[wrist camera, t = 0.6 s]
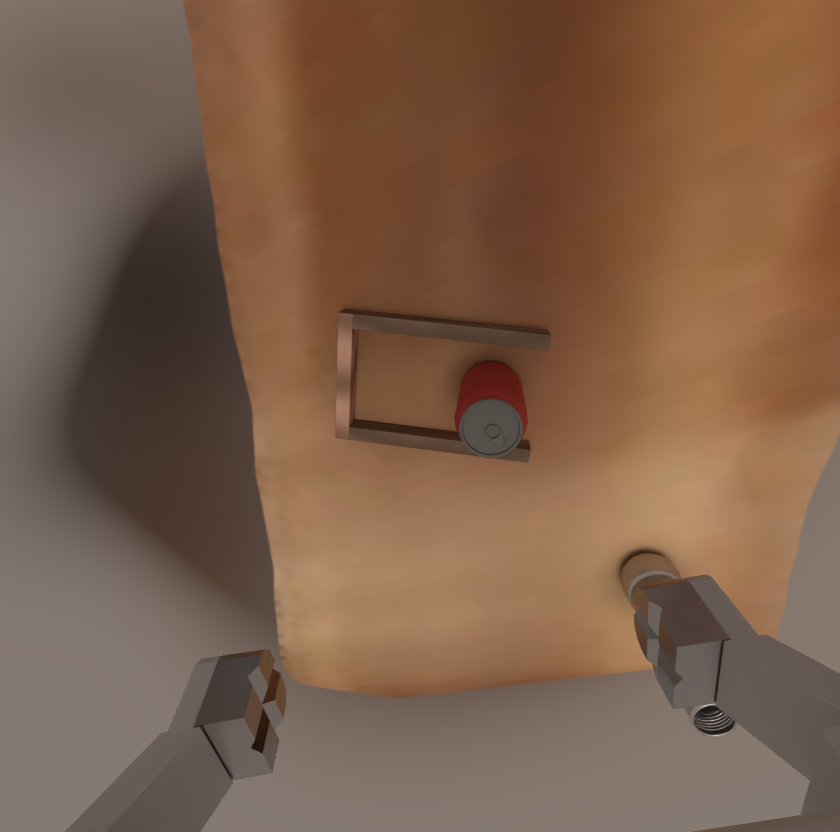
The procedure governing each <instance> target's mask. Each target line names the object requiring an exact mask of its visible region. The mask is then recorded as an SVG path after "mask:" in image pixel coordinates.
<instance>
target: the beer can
mask: <svg viewBox="0 0 840 832" xmlns="http://www.w3.org/2000/svg"><path fill="white" fill-rule="evenodd" d="M455 425H456V430H457V432H458V434H459V436H460V438H461V440H462V441H463V444H464V445H465V446H466V447H467V448H468V449H469V450H470V451H471V452H473V453H475V454H476V455H478V456H482V457H486V458H497V457H501V456H504V455H506V454H508V453H510V452H511V451H512V450H514V449H515V448H516V446H517V445H518V444H519V442H520V441H521V438H522V437H523V435H524V433H525V430H526V426H527V411H526V406H525V401H524V396H523V391H522V386H521V383H520V380H519V378H518V375H517V374H516V373H515V372H514V371H513V370H512V369H511V368H510V367H508V366H507V365H505V364H503V363H500V362H495V361H489V362H482V363H480V364H477V365H475V366H473V367H472V368H471V369H470V370H469V371H468V372H467V373H466V374H465V376H464V378H463V379H462V383H461V387H460V392H459V397H458V403H457V408H456V413H455Z"/></svg>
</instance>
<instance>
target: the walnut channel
mask: <svg viewBox="0 0 840 832" xmlns="http://www.w3.org/2000/svg"><path fill="white" fill-rule="evenodd" d="M358 329H359V330H368V331H378V332H387V333H396V334H406V335H415V336H424V337H433V338H443V339H452V340H461V341H470V342H480V343H489V344H498V345H508V346H517V347H526V348H535V349H545V350H548V348H549V342H550V336H551V335H550V333H549V331H548V330H540V329H530V328H521V327H511V326H502V325H492V324H482V323H473V322H463V321H454V320H444V319H435V318H425V317H415V316H406V315H396V314H387V313H377V312H367V311H358V310H348V309H344V310H342V311H341V312H339V313H338V352H337V393H336V435H335V438H341V439H348V440H356V441H364V442H372V443H380V444H387V445H395V446H403V447H411V448H418V449H426V450H434V451H442V452H449V453H457V454H465V455H473V456H478V455H476V454H475V453H473V452H471V451H470V450H469V449H468V448H467V447H466V446H465V445H464V444H463V441H462V440H461V438H460V436H459V434H458V432H452V431H444V430H436V429H428V428H420V427H412V426H404V425H396V424H388V423H380V422H372V421H364V420H356V419H355V393H356V367H357V341H358ZM529 456H530V445H529V441H524V440H521V441H520V442H519V444H518V445H517V446H516V448H515V449H514V450H512V451H511V452H510V453H508V454H506V455H504V456H501V457H497V458H496V459H504V460H512V461H519V462H527V463H528V462H529ZM480 457H482V456H480Z"/></svg>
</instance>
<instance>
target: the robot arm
mask: <svg viewBox="0 0 840 832" xmlns="http://www.w3.org/2000/svg"><path fill="white" fill-rule="evenodd" d="M634 600H635V602H636V603H637V605H638V607H639V609H638V610H637V612H636V613H635V614H634V626H635V630H636V635H637V639H638V642H639V644H640V647H641V649H642V651H643V653H644V655H645V657H646V659H647V660H648V661H649V662H651V663H652V664H654V665H655V666H657V680H658V682H659V684H660V686H661V688H662V689H663V691H664V693H665V695H666V697H667V699H668V701H669V702H670V704H671V706H672V708H673V709H677V708H685V707H693V706H700V705H708V704H716V706H717V707H718V708H719V709H720V710H722V711H723V712H724V713H725V714H727V715H728V716H729V717H730V718H732V719H733V720H734V721H735V722H737V723H738V724H739V725H741V726H742V727H743V728H744V729H746V730H747V731H748V732H749V733H751V734H752V735H753V736H754V737H756V738H757V739H758V740H759V741H761V742H762V743H763V744H764V745H766V746H767V747H769V749H771V750H772V751H773V752H775V753H776V754H777V755H778V756H780V757H781V758H782V759H783V760H785V761H786V762H787V763H788V764H790V765H791V766H792V767H793V768H795V769H796V770H797V771H798V772H800V773H801V774H802V775H803V776H805V777H806V778H807V779H808V780H810V782H809V786H808V789H807V793H806V796H805V800H804V804H803V807H802V811H801V814H802V815H799V816H792V817H786V818H779V819H773V820H766V821H760V822H753V823H746V824H740V825H733V826H726V827H720V828H714V829H707V830H700V831H694V832H840V674H839V673H838V672H836V671H834V670H832V669H830V668H828V667H826V666H824V665H823V664H821V663H819V662H817V661H815V660H813V659H811V658H809V657H808V656H806V655H804V654H802V653H800V652H798V651H796V650H794V649H792V648H791V647H789V646H787V645H785V644H783V643H781V642H779V641H777V640H776V639H774V638H772V637H770V636H768V635H758V634H757V633H756V632H755V630H754V629H753V628H752V627H751V625H750V624H749V623H748V622H747V620H746V619H745V618H744V617H743V615H742V614H741V613H740V612H739V610H738V609H737V608H736V607H735V605H734V604H733V603H732V602H731V600H730V599H729V598H728V597H727V595H726V594H725V593H724V592H723V591H722V589H721V588H720V587H719V586H718V584H717V583H716V582H715V581H714V579H713V578H712V577H710V576H709V575H707V574H706V575H700V576H694V577H689V578H683V579H676V580H670V581H664V582H659V583H653V584H648V585H642V586H637V587H636V589H635V595H634ZM273 664H274V658H273V656H272V654H271V652H270V650H258V651H251V652H243V653H236V654H229V655H223V656H217V657H210V658H203V659H200V661H198V663H197V664H196V665H195V666H194V669H193V671H192V674H191V676H190V679H189V681H188V683H187V686H186V689H185V691H184V694H183V696H182V698H181V701H180V703H179V706H178V708H177V710H176V713H175V716H174V718H173V720H172V723H171V725H170V728H169V730H168V732H164V733H161V734H160V735H159V736H158V737H157V738H156V739H155V740H154V741H153V742H152V743H151V744H150V745H149V746H148V747H147V748H146V749H145V750H144V751H143V752H142V753H141V754H140V755H139V756H138V757H137V758H136V759H135V760H134V761H133V763H131V765H129V767H128V768H127V769H126V770H125V771H124V772H123V773H122V774H121V775H120V776H119V777H118V778H117V779H116V780H115V781H114V782H113V783H112V784H111V785H110V786H109V787H108V788H107V789H106V790H105V791H104V792H103V793H102V794H101V795H100V796H99V797H98V798H97V800H95V801H94V803H93V804H91V806H90V807H89V808H88V809H87V810H86V811H85V812H84V813H83V814H82V815H81V816H80V817H79V818H78V819H77V820H76V821H75V822H74V823H73V824H72V825H71V826H70V827H69V828H68V829H67V830H66V831H65V832H200V831H201V830H202V828H203V827H204V825H205V824H206V822H207V821H208V819H209V818H210V816H211V815H212V814H213V812H214V811H215V809H216V808H217V806H218V805H219V803H220V802H221V800H222V798H223V797H224V795H225V794H226V793H227V791H228V790H229V788H230V787H231V785H232V784H233V782H232V780H237V779H242V778H248V777H253V776H258V775H263V774H269V773H272V772H273V767H274V762H275V758H276V753H277V748H278V743H279V739H278V737H277V735H276V732H275V729H276V728H277V726H278V725H279V724H280V723H281V721H282V720H283V718H284V713H285V707H286V689H285V684H284V680H283V678H282V675H281V673H279V672H278V671H276V670H274V669H273Z"/></svg>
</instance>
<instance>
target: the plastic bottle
mask: <svg viewBox="0 0 840 832" xmlns="http://www.w3.org/2000/svg"><path fill="white" fill-rule="evenodd" d="M676 579H682V578H681V575H680V574H679V572H678V570H677V569H676V568H675V567H674V566H673V564H672V563H671V562H670V561H669V560H667V559H666V558H664V557H662V556H660V555H657V554H651V553H643V554H639V555H636V556H634V557H632V558H631V559H630V560H629V561H628V562H627V563H626V564H625V566H624V567H623V569H622V573H621V581H622V588H623V591H624V593H625V595H626V597H627V598H628V600H629V602H630V603H631V605H632V606H633V607H634V609H635V611H636V612H637V610H638V609H639V607H638V605H637V603H636V602H635V600H634V595H635V589H636V587H637V586H642V585H648V584H653V583H659V582H664V581H670V580H676ZM652 665H653V668H654V671H655V675H656V677H657V666H655V665H654V664H652ZM684 709H685V711H686V713H687V715H688V716H689V718H690V721H691V723H692V725H693V726H694V728H695V729H696V730H697V731H698V732H700V733H701V734H703V735H706V736H711V737H718V736H723V735H726V734H729V733H730V732H731V731H733V730H734V729H735V728H736V726H737V722H735V721H734V720H733V719H732V718H730V717H729V716H728V715H727V714H725V713H724V712H723V711H722V710H720V709H719V708H718V707H717V706H716V704H708V705H700V706H693V707H685V708H684Z"/></svg>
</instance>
